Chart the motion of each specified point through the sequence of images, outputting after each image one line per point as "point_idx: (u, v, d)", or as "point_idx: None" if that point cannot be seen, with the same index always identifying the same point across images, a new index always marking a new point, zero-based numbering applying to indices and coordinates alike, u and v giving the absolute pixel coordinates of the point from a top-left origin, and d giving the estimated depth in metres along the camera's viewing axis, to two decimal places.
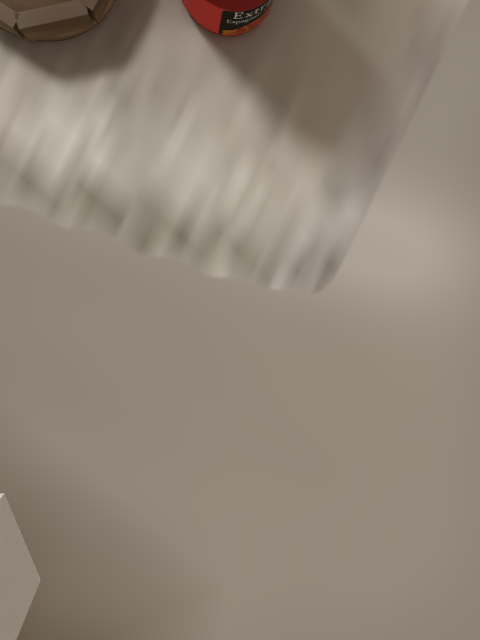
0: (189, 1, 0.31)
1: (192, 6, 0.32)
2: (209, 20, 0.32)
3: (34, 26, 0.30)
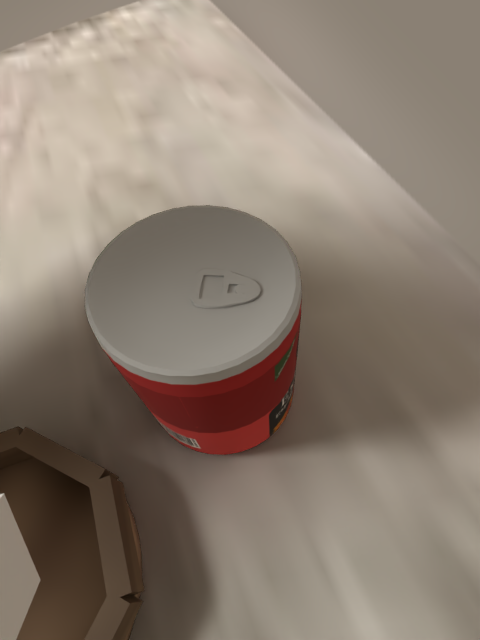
0: (219, 446, 0.21)
1: (226, 445, 0.21)
2: (256, 436, 0.21)
3: None
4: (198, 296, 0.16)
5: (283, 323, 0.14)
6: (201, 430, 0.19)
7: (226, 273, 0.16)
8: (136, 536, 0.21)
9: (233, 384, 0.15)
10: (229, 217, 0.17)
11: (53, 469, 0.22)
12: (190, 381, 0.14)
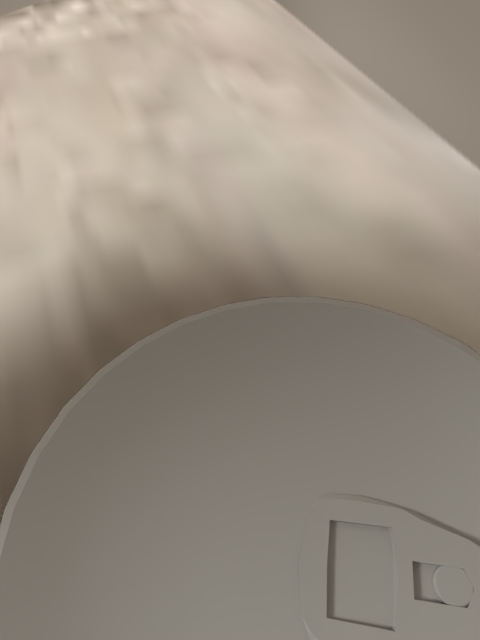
0: None
1: None
2: None
3: None
4: (326, 607, 0.05)
5: None
6: None
7: (393, 514, 0.06)
8: None
9: None
10: (375, 333, 0.07)
11: None
12: None
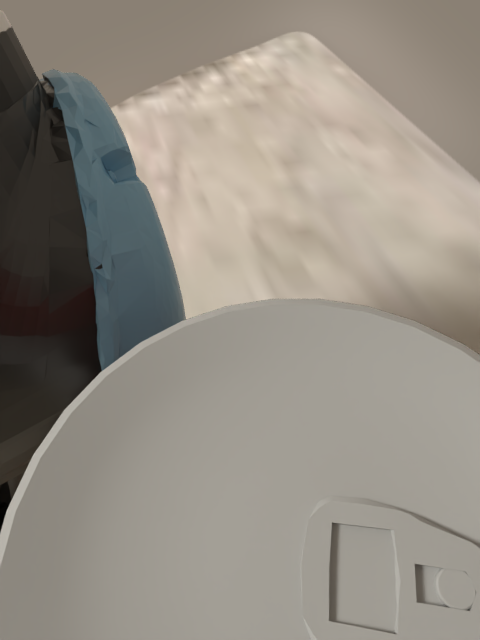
0: None
1: None
2: None
3: None
4: (328, 609, 0.05)
5: None
6: None
7: (395, 517, 0.06)
8: None
9: None
10: (377, 335, 0.07)
11: None
12: None
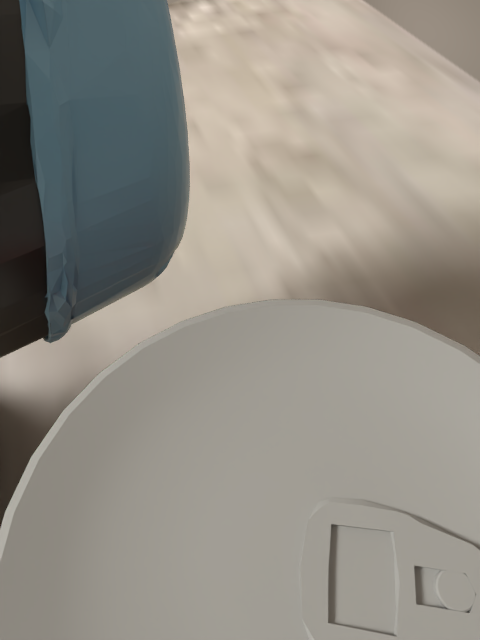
0: None
1: None
2: None
3: None
4: (327, 611, 0.05)
5: None
6: None
7: (395, 518, 0.06)
8: None
9: None
10: (376, 336, 0.07)
11: None
12: None
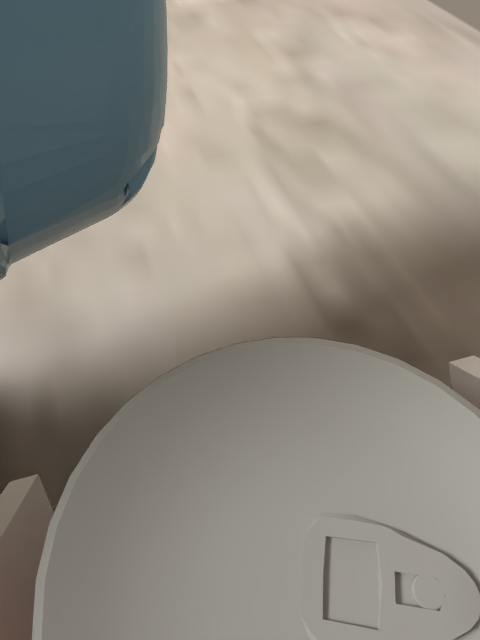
0: None
1: None
2: None
3: None
4: (321, 609, 0.06)
5: None
6: None
7: (379, 530, 0.07)
8: None
9: None
10: (366, 371, 0.08)
11: None
12: None
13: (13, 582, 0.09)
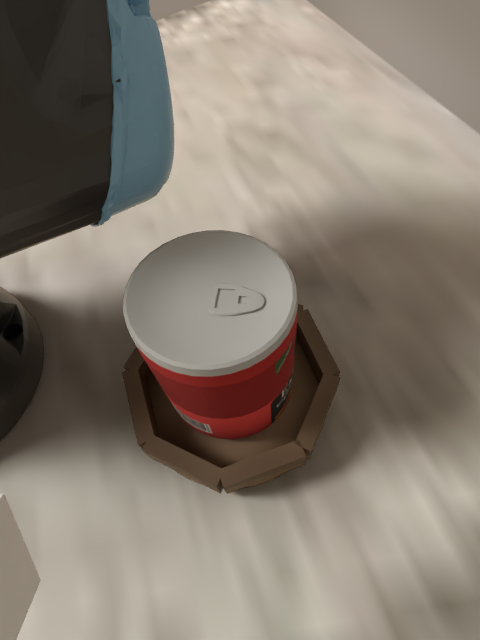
0: (229, 430, 0.25)
1: (235, 430, 0.25)
2: (260, 423, 0.25)
3: (317, 434, 0.25)
4: (214, 305, 0.19)
5: (282, 329, 0.18)
6: (214, 416, 0.22)
7: (237, 287, 0.20)
8: None
9: (242, 377, 0.19)
10: (239, 240, 0.21)
11: None
12: (208, 373, 0.18)
13: None
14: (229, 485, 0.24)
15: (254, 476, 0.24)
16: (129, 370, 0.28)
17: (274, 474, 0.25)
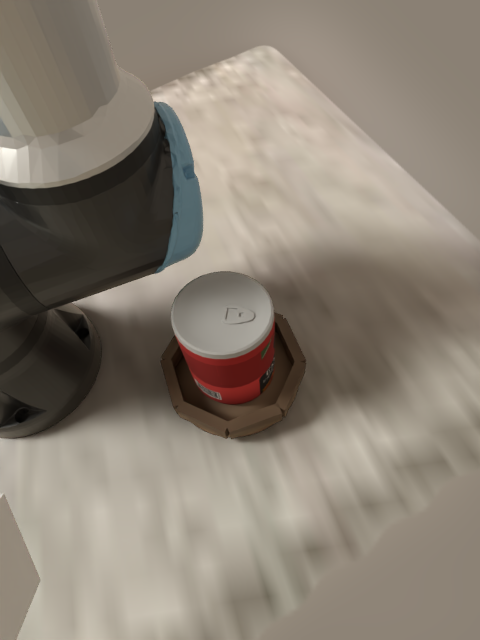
0: (232, 397, 0.38)
1: (236, 397, 0.38)
2: (252, 392, 0.38)
3: (289, 400, 0.38)
4: (225, 318, 0.33)
5: (264, 332, 0.32)
6: (223, 386, 0.36)
7: (238, 307, 0.33)
8: None
9: (241, 359, 0.32)
10: (239, 278, 0.34)
11: None
12: (222, 357, 0.31)
13: None
14: (233, 431, 0.37)
15: (248, 426, 0.38)
16: (165, 359, 0.41)
17: (262, 426, 0.39)
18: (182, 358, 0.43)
